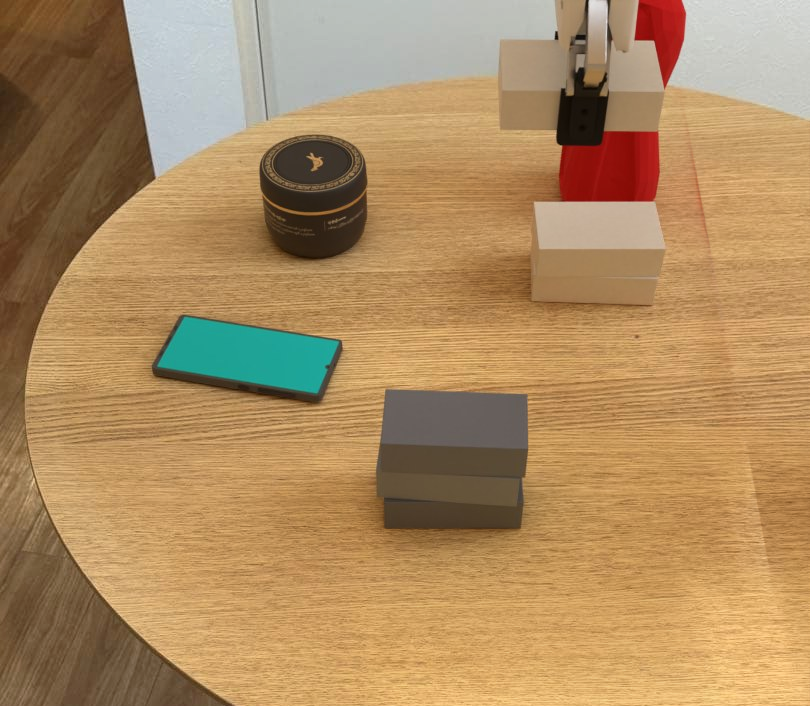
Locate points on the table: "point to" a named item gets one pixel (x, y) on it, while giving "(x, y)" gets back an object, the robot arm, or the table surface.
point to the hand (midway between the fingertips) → (575, 111)
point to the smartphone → (248, 358)
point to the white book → (545, 76)
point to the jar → (314, 195)
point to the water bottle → (627, 150)
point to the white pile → (596, 252)
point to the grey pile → (452, 459)
